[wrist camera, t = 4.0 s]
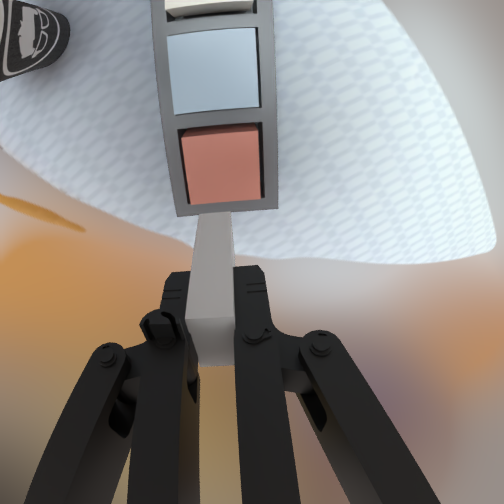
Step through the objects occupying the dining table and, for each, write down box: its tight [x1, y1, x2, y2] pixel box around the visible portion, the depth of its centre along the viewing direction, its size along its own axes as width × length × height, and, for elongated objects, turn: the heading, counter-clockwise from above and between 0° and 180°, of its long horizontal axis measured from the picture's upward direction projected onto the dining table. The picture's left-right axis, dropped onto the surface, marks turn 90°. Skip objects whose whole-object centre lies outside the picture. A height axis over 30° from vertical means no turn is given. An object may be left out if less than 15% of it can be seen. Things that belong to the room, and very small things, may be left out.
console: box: [151, 0, 278, 217], centre depth 22 cm, size 26×9×5 cm, turn 3°
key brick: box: [181, 122, 261, 205], centre depth 25 cm, size 6×6×4 cm
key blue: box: [167, 28, 259, 115], centre depth 19 cm, size 6×6×4 cm
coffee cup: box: [0, 0, 70, 82], centre depth 13 cm, size 10×10×15 cm
